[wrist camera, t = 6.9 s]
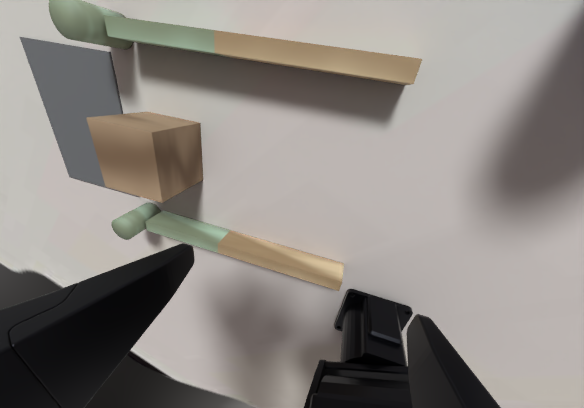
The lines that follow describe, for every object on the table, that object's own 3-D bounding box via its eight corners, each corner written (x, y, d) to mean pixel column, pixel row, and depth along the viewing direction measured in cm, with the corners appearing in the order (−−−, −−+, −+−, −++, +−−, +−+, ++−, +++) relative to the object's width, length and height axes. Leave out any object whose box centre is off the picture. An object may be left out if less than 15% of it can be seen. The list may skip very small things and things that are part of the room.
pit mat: (145, 193, 27) (138, 196, 26) (78, 174, 28) (69, 176, 27) (119, 53, 20) (109, 52, 19) (33, 39, 22) (19, 36, 21)
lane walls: (339, 276, 23) (335, 308, 20) (145, 217, 27) (114, 235, 24) (416, 52, 14) (435, 40, 11) (104, 10, 18) (43, -9, 14)
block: (203, 179, 23) (162, 202, 18) (156, 167, 24) (105, 186, 19) (200, 122, 20) (151, 132, 15) (148, 111, 21) (86, 117, 16)
